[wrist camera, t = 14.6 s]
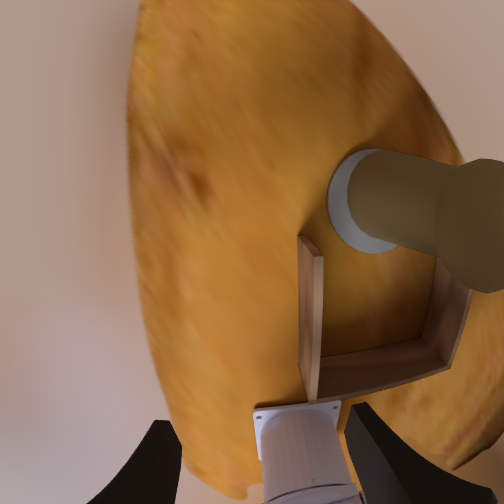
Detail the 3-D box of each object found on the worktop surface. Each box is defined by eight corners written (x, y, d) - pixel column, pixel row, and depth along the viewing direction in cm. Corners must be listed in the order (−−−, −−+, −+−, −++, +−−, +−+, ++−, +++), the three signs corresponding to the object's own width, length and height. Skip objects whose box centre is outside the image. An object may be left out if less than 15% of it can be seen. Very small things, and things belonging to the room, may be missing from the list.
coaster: (413, 247, 18) (417, 249, 18) (327, 255, 18) (329, 258, 18) (414, 151, 16) (419, 151, 16) (323, 148, 16) (326, 147, 16)
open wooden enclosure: (424, 340, 21) (450, 368, 17) (298, 365, 21) (308, 405, 17) (443, 225, 18) (481, 240, 14) (297, 235, 18) (313, 256, 14)
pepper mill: (385, 257, 18) (493, 342, 7) (327, 196, 17) (441, 245, 6) (435, 195, 17) (558, 233, 6) (385, 131, 16) (519, 114, 5)
